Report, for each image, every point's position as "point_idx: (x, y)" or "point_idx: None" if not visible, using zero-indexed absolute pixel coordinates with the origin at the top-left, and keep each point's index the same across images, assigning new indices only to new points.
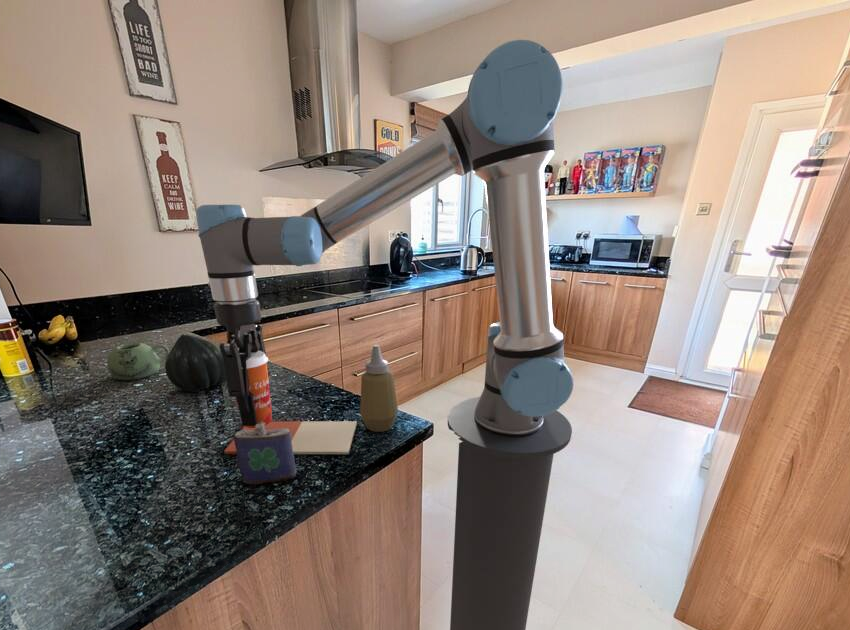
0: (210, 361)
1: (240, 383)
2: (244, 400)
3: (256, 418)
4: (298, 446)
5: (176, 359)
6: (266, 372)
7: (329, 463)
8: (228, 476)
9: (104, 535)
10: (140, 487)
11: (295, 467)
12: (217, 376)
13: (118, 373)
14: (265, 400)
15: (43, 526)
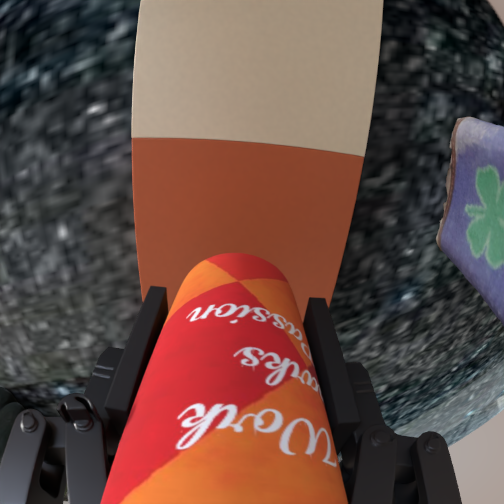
0: (4, 447)
1: (457, 495)
2: (378, 416)
3: (318, 315)
4: (337, 114)
5: None
6: (230, 493)
7: (425, 19)
8: (423, 285)
9: (476, 376)
10: (393, 399)
11: (477, 119)
12: (11, 414)
13: (66, 484)
14: (277, 335)
15: (425, 429)
